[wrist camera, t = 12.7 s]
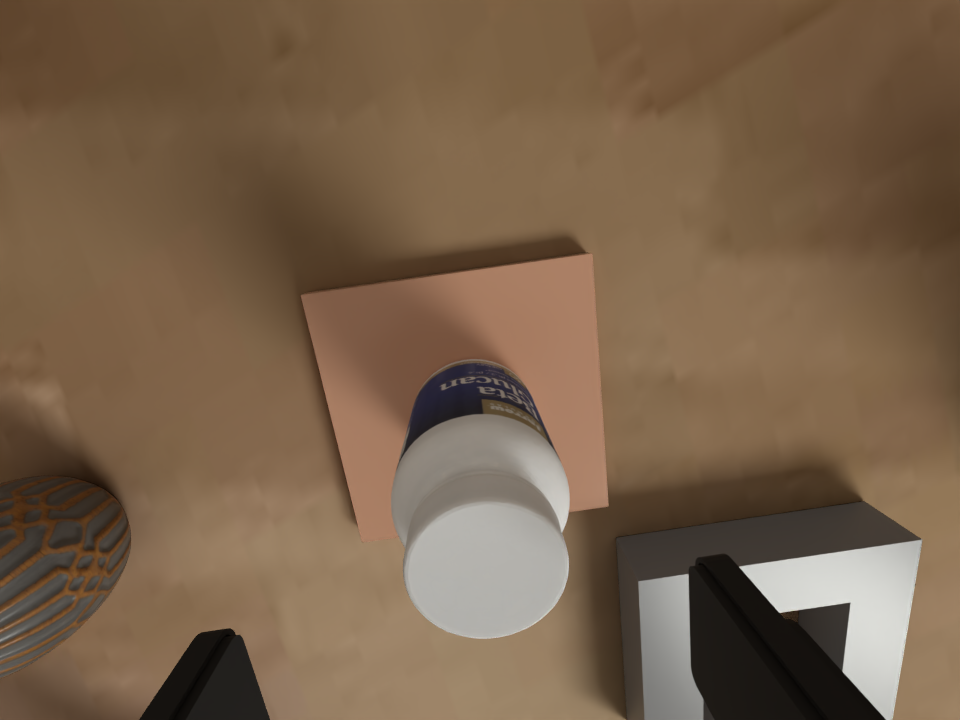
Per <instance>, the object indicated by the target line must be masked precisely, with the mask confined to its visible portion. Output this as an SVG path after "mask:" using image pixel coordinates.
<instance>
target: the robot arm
mask: <svg viewBox="0 0 960 720" xmlns="http://www.w3.org/2000/svg"><path fill="white" fill-rule="evenodd" d="M688 575H689V616H690V656H691V671H692V675H693V679H694V681H695V684H696V686H697V688H698V690H699V692H700V694H701V696H702V698H703V700H704V701H705V703H706V705H707V707H708V709H709V711H710V713H711V714H712V716H713V718H714V720H886V719H885V718H884V717H883V716H882V715H881V714H880V712H879V711H878V710H877V709H876V708H875V707H874V706H873V705H872V704H871V702H870V701H869V700H868V699H867V698H866V697H865V696H864V695H863V694H862V693H861V691H860V690H859V689H858V688H857V687H856V686H855V685H854V684H853V683H852V682H851V680H850V679H849V678H848V677H847V676H846V675H845V674H844V673H843V672H842V670H841V669H840V668H839V667H838V666H837V665H836V664H835V663H834V662H833V661H832V659H831V658H830V657H829V656H828V655H827V654H826V653H825V652H824V651H823V650H822V648H821V647H820V646H819V645H818V644H817V643H816V642H815V641H814V640H813V638H812V637H811V636H810V635H809V634H808V633H807V632H806V631H805V630H804V629H803V628H802V627H801V626H800V625H799V624H798V623H797V622H795V621H793V620H791V619H784V618H783V616H782V615H781V614H780V613H779V612H778V611H777V610H776V608H775V607H774V606H773V605H772V604H771V603H770V602H769V600H768V599H767V598H766V597H765V596H764V595H763V594H762V593H761V591H760V590H759V589H758V588H757V587H756V586H755V585H754V583H753V582H752V581H751V580H750V579H749V578H748V577H747V575H746V574H745V573H744V572H743V571H742V570H741V569H740V567H739V566H738V565H737V564H736V563H735V562H734V561H733V560H732V558H731V557H729V556H728V555H727V554H725V553H723V554H717V555H710V556H704V557H698V558H697V559H696V561H695V566H690V567H689V571H688ZM139 720H270V718H269V715H268V712H267V709H266V706H265V703H264V700H263V697H262V694H261V691H260V688H259V685H258V682H257V679H256V676H255V673H254V670H253V667H252V664H251V661H250V658H249V655H248V652H247V649H246V646H245V643H244V640H243V638H242V637H241V636H240V635H236V634H235V632H234V631H233V630H232V629H222V630H215V631H208V632H202V633H200V634H198V635H197V636H196V637H195V638H194V640H193V641H192V642H191V644H190V645H189V647H188V648H187V650H186V651H185V653H184V654H183V656H182V657H181V659H180V660H179V662H178V663H177V665H176V666H175V668H174V669H173V671H172V672H171V673H170V675H169V676H168V678H167V679H166V681H165V682H164V684H163V685H162V687H161V688H160V690H159V691H158V693H157V694H156V696H155V697H154V699H153V700H152V702H151V703H150V705H149V706H148V707H147V709H146V710H145V712H144V713H143V715H142V716H141V718H140V719H139Z"/></svg>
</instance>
